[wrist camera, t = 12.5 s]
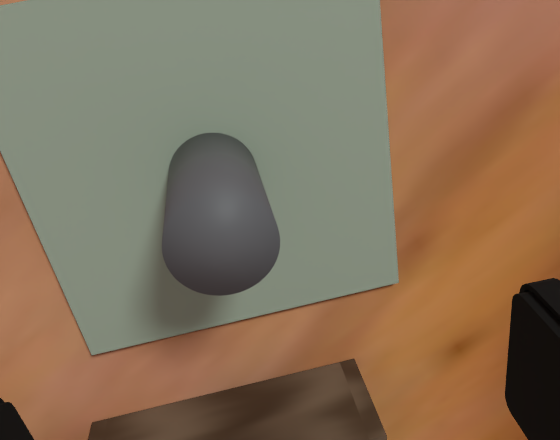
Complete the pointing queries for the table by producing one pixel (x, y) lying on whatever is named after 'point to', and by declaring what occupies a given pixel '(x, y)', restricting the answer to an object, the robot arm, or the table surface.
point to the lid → (199, 156)
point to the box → (262, 412)
